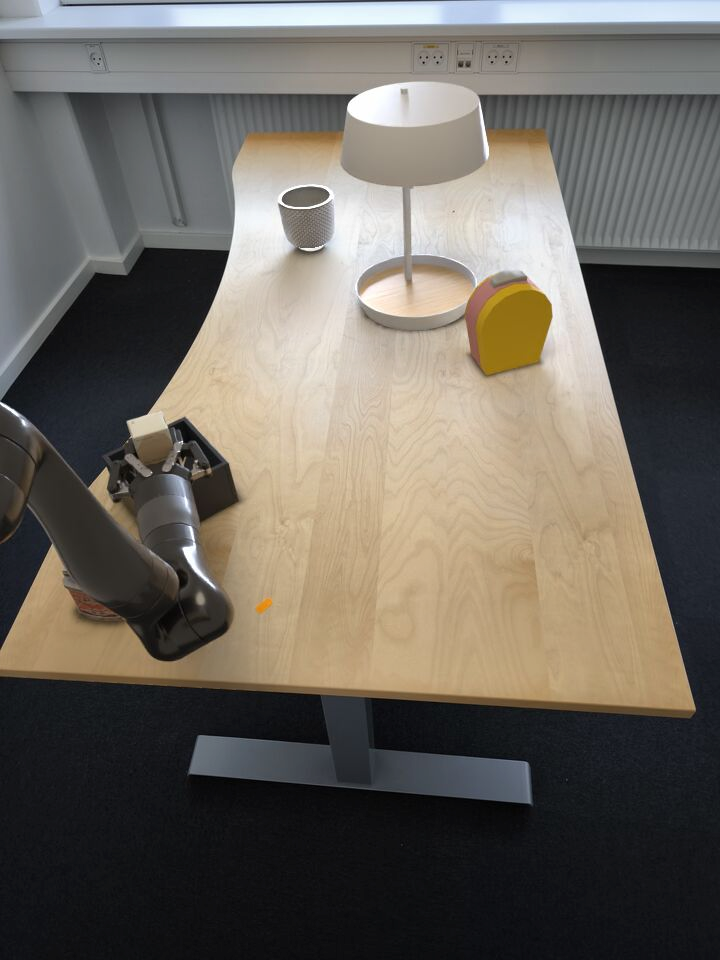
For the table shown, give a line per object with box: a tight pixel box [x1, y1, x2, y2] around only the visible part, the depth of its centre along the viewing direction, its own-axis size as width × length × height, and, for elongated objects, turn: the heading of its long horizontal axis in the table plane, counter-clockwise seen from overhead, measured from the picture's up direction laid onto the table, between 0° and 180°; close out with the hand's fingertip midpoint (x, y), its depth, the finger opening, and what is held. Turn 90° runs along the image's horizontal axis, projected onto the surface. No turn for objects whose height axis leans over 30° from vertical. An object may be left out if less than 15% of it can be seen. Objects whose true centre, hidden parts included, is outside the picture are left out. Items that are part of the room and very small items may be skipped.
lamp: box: [339, 81, 490, 332], centre depth 151 cm, size 29×29×43 cm
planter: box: [277, 184, 336, 248], centre depth 184 cm, size 14×14×13 cm
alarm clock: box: [464, 268, 553, 376], centre depth 142 cm, size 15×8×18 cm, turn 108°
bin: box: [101, 416, 239, 523], centre depth 123 cm, size 16×16×9 cm
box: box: [126, 410, 173, 465], centre depth 103 cm, size 5×4×11 cm
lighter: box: [61, 566, 124, 622], centre depth 107 cm, size 8×3×10 cm, turn 80°
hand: (152, 437), depth 105 cm, fingers closed on box, 5 cm apart
